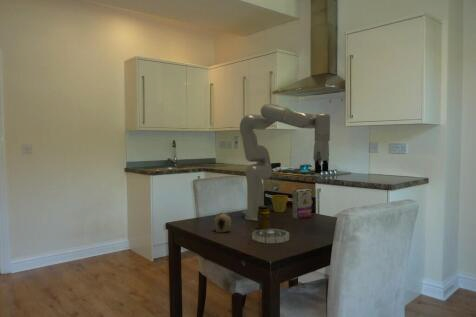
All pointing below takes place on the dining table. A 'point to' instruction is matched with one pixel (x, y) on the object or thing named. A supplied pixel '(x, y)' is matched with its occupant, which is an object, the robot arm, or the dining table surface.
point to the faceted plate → (270, 235)
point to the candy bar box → (302, 203)
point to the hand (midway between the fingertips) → (321, 172)
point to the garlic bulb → (222, 222)
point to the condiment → (263, 218)
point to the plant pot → (279, 202)
